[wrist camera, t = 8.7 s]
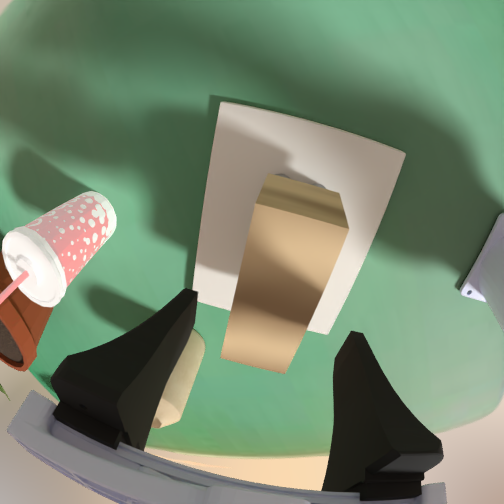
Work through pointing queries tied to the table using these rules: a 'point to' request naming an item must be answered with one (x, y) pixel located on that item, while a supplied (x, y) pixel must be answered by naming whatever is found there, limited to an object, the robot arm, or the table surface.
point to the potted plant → (19, 325)
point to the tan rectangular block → (283, 271)
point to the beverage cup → (56, 247)
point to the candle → (180, 382)
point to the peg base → (296, 168)
